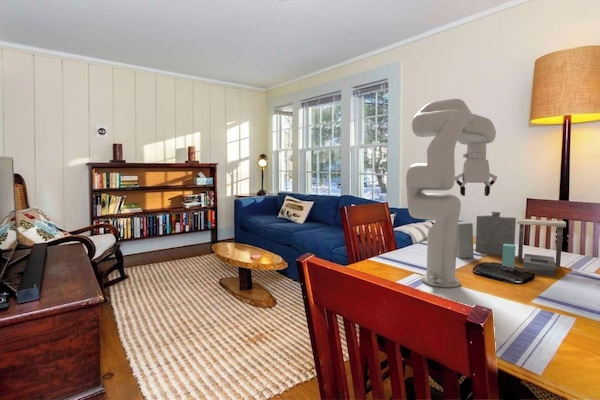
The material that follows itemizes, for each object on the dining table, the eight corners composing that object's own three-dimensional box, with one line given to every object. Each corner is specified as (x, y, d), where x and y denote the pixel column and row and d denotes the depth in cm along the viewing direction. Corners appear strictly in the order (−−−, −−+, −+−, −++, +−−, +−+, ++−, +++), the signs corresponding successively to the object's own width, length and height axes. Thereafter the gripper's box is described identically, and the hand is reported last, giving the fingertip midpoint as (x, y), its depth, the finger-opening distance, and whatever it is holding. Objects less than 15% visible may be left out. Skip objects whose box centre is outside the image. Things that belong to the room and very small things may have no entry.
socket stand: (565, 278, 124) (568, 228, 122) (513, 271, 133) (516, 224, 131) (562, 266, 139) (564, 221, 137) (515, 260, 148) (518, 218, 146)
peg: (513, 271, 132) (515, 246, 131) (501, 270, 134) (503, 245, 133) (514, 269, 135) (515, 244, 134) (502, 267, 137) (503, 243, 136)
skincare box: (473, 258, 152) (475, 223, 150) (457, 258, 152) (459, 223, 150) (465, 253, 160) (466, 220, 159) (449, 253, 160) (451, 220, 159)
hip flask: (513, 254, 158) (516, 212, 156) (514, 256, 154) (516, 213, 152) (475, 250, 166) (477, 210, 164) (475, 252, 162) (476, 211, 160)
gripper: (457, 156, 146) (456, 196, 148) (501, 156, 143) (499, 196, 144) (452, 157, 153) (451, 194, 155) (494, 156, 150) (492, 195, 152)
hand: (474, 195), depth 150 cm, fingers open, 9 cm apart
